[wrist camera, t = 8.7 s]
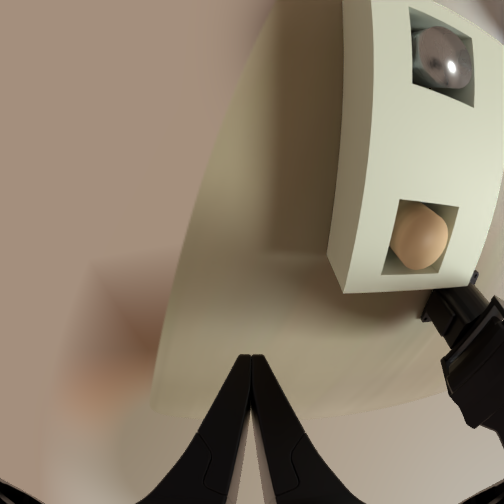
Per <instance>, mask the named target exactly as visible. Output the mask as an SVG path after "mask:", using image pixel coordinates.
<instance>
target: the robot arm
mask: <svg viewBox="0 0 504 504" xmlns="http://www.w3.org/2000/svg"><path fill="white" fill-rule="evenodd" d="M478 275H479V273H478V272H477V271H476V270H474V272H473V274H472V277H471V279H470V281H469V284H468V286H461V287H450V288H437V289H433V291H432V294H431V296H430V298H429V301H428V303H427V305H426V307H425V309H424V312H423V314H422V316H421V321H422V322H430V321H432V322H433V324H434V325H435V327H436V329H437V330H438V332H439V334H440V335H441V336H443V337H444V339H445V340H446V342H447V344H448V345H449V347H450V349H451V351H450V352H449V353H448V354H447V355H446V356H444V357H443V358H442V359H441V360H440V361H441V365H442V369H443V373H444V377H445V381H446V385H447V389H448V394H449V396H450V397H451V398H452V400H453V401H454V402H455V403H456V404H457V405H458V406H459V408H460V410H461V412H462V414H463V416H464V419H465V422H466V424H467V425H468V426H470V427H472V428H474V429H475V428H477V427H478V426H479V425H481V426H483V427H485V428H488V429H490V430H493V431H495V432H496V433H497V435H498V436H499V438H500V441H501V443H502V446H503V448H504V320H503V318H504V301H503V300H501V299H500V298H498V297H497V296H495V295H494V296H493V298H492V299H491V302H490V303H489V302H488V301H487V300H486V298H485V297H484V296H483V295H482V294H481V292H480V291H479V290H478V289H477V288H476V287H475V285H474V284H475V282H476V280H477V278H478ZM502 320H503V321H502ZM250 412H251V414H252V422H253V429H254V436H255V442H256V450H257V457H258V462H259V470H260V476H261V483H262V489H263V495H264V502H265V504H366V503H364V502H362V501H361V500H359V499H358V498H357V497H355V496H354V495H353V494H352V493H351V492H350V491H349V490H348V489H347V488H346V487H345V486H344V484H343V483H342V482H341V481H340V480H339V479H338V478H337V476H336V475H335V474H334V473H333V471H332V470H331V469H330V468H329V467H328V465H327V464H326V463H325V461H324V460H323V459H322V458H321V456H320V455H319V454H318V452H317V450H316V449H315V447H314V446H313V444H312V442H311V441H310V439H309V437H308V435H307V434H306V433H305V431H304V429H303V427H302V425H301V423H300V421H299V420H298V418H297V416H296V414H295V412H294V411H293V409H292V407H291V405H290V403H289V401H288V400H287V398H286V396H285V394H284V392H283V390H282V389H281V387H280V385H279V383H278V381H277V379H276V377H275V375H274V373H273V372H272V370H271V368H270V366H269V364H268V362H267V360H266V358H265V356H264V355H262V354H253V355H252V356H251V355H249V354H240V355H239V356H238V358H237V359H236V361H235V363H234V365H233V367H232V369H231V371H230V373H229V374H228V376H227V378H226V380H225V382H224V384H223V386H222V387H221V389H220V391H219V393H218V395H217V397H216V398H215V400H214V402H213V404H212V406H211V408H210V409H209V411H208V413H207V415H206V416H205V418H204V420H203V422H202V424H201V426H200V427H199V429H198V432H197V433H196V434H195V436H194V437H193V439H192V441H191V442H190V444H189V446H188V447H187V449H186V450H185V452H184V453H183V455H182V456H181V457H180V459H179V460H178V461H177V463H176V464H175V465H174V466H173V468H172V469H171V470H170V471H169V472H168V473H167V475H166V476H165V477H164V478H163V479H162V481H161V482H160V483H159V484H158V485H157V487H155V489H154V490H153V491H152V492H150V493H149V494H148V495H147V496H146V497H145V498H143V499H142V500H140V501H139V502H137V503H136V504H236V500H237V494H238V488H239V482H240V477H241V471H242V464H243V458H244V451H245V446H246V439H247V432H248V426H249V419H250ZM0 504H45V503H43V502H42V501H40V500H38V499H37V498H35V497H33V496H31V495H29V494H28V493H26V492H24V491H23V490H21V489H19V488H17V487H15V486H13V485H12V484H9V483H8V482H6V481H4V480H2V479H1V478H0ZM459 504H504V479H503V480H501V481H499V482H497V483H495V484H494V485H492V486H490V487H488V488H486V489H484V490H482V491H480V492H478V493H476V494H475V495H473V496H471V497H469V498H467V499H465V500H464V501H462V502H461V503H459Z"/></svg>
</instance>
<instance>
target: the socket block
mask: <svg viewBox="0 0 504 504" xmlns="http://www.w3.org/2000/svg"><path fill="white" fill-rule="evenodd" d="M342 11H343V39H344V74H343V105H342V123H341V138H340V150H339V162H338V172H337V181H336V190H335V198H334V206H333V214H332V221H331V228H330V235H329V241H328V248H327V254H326V255H327V257H328V259H329V262H330V264H331V266H332V269H333V271H334V273H335V275H336V278H337V280H338V282H339V285H340V287H341V289H342V292H343V294H344V293H371V292H392V291H409V290H424V289H437V288H450V287H461V286H468V284H469V281H470V279H471V277H472V274H473V272H474V270H475V267H476V265H477V262H478V260H479V257H480V254H481V252H482V249H483V246H484V243H485V240H486V237H487V234H488V231H489V228H490V224H491V221H492V218H493V214H494V210H495V207H496V203H497V199H498V194H499V190H500V185H501V180H502V175H503V170H504V45H503V44H501V43H500V42H499V41H497V40H496V39H495V38H493V37H492V36H491V35H489V34H488V33H486V32H485V31H484V30H482V29H481V28H479V27H478V26H476V25H475V24H473V23H472V22H470V21H468V20H467V19H465V18H463V17H462V16H460V15H458V14H457V13H455V12H453V11H451V10H450V9H448V8H446V7H444V6H442V5H440V4H438V3H436V2H434V1H432V0H343V1H342ZM434 26H441V27H445V28H447V29H449V30H450V31H452V32H453V33H454V34H456V35H457V36H458V37H459V39H460V40H461V41H462V42H463V44H464V45H465V47H466V49H467V51H468V53H469V56H470V59H471V64H472V75H471V79H470V81H469V83H468V84H467V85H466V86H465V87H463V88H459V89H456V88H433V91H432V90H430V89H427V88H424V87H421V86H418V85H415V84H412V42H411V33H414V32H417V31H420V30H423V29H427V28H430V27H434ZM399 199H402V200H411V201H419V202H421V203H422V204H424V205H425V206H426V207H428V208H429V209H431V210H432V211H433V212H435V213H436V214H437V215H439V216H440V217H441V218H442V219H443V220H444V221H445V223H446V225H447V229H448V239H447V243H446V246H445V249H444V251H443V252H442V254H441V255H440V257H439V258H438V259H437V260H436V261H435V262H434V263H433V264H431V265H430V266H428V267H426V268H424V269H420V270H413V269H409V268H408V267H406V266H405V265H404V264H403V263H402V261H401V260H400V259H399V258H398V256H397V255H396V254H395V253H394V251H393V250H392V249H391V248H390V247H389V243H390V239H391V235H392V231H393V227H394V223H395V218H396V214H397V209H398V204H399Z"/></svg>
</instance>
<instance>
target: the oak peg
mask: <svg viewBox="0 0 504 504" xmlns="http://www.w3.org/2000/svg"><path fill="white" fill-rule="evenodd" d="M447 239H448V229H447V225H446V223H445V221H444V220H443V219H442V218H441V217H440V216H439V215H437V214H436V213H435V212H433V211H432V210H431V209H429V208H428V207H426V206H425V205H424V204H422V203H421V202H419V201H411V200H402V199H399V204H398V209H397V214H396V218H395V223H394V227H393V231H392V235H391V239H390V243H389V247H390V248H391V249H392V250H393V251H394V253H395V254H396V255H397V256H398V258H399V259H400V260H401V261H402V263H403V264H404V265H405V266H406V267H408V268H409V269H413V270H420V269H424V268H426V267H428V266H430V265H431V264H433V263H434V262H435V261H436V260H437V259H438V258H439V257H440V255H441V254H442V252H443V251H444V249H445V246H446V243H447Z"/></svg>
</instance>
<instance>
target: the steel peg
mask: <svg viewBox="0 0 504 504" xmlns="http://www.w3.org/2000/svg"><path fill="white" fill-rule="evenodd" d="M411 42H412V84H415V85H418V86H421V87H424V88H456V89H459V88H463V87H465V86H466V85H467V84H468V83H469V81H470V79H471V75H472V64H471V59H470V56H469V53H468V51H467V49H466V47H465V45H464V44H463V42H462V41H461V40H460V39H459V37H458V36H457V35H456V34H454V33H453V32H452V31H450V30H449V29H447V28H445V27H441V26H434V27H430V28H427V29H423V30H420V31H417V32H414V33H411Z"/></svg>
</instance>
